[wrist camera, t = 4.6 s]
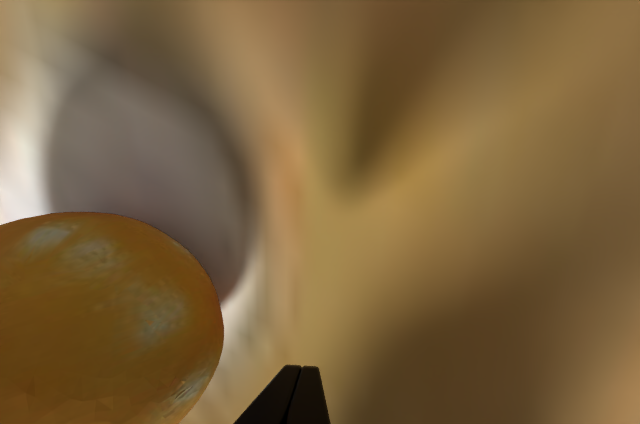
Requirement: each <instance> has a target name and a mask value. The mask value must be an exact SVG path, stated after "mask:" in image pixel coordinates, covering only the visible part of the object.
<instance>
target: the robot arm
mask: <svg viewBox="0 0 640 424" xmlns="http://www.w3.org/2000/svg"><path fill="white" fill-rule="evenodd" d="M234 424H331V423H330V419H329V414H328V409H327V404H326V400H325V395H324V390H323V385H322V381H321V376H320V371H319V368H318V367H316V366H303V367H301V366H300V365H285V366H284V367H283V368H282V369H281V370H280V372H279V373H278V374H277V375H276V376H275V377H274V378H273V379H272V381H271V382H270V383H269V384H268V385H267V386H266V387H265V389H264V390H263V391H262V392H261V393H260V394H259V395H258V396H257V398H256V399H255V400H254V401H253V402H252V403H251V404H250V406H249V407H248V408H247V409H246V410H245V411H244V412H243V413H242V415H241V416H240V417H239V418H238V419H237V420H236V421H235V423H234Z"/></svg>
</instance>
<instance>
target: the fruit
mask: <svg viewBox="0 0 640 424" xmlns="http://www.w3.org/2000/svg"><path fill="white" fill-rule="evenodd" d="M223 340H224V325H223V318H222V312H221V309H220V304H219V300H218V297H217V293H216V290H215V288H214V286H213V284H212V281H211V279H210V278H209V276H208V275H207V273H206V272H205V270H204V269H203V267H202V266H201V265H200V263H199V262H198V261H197V259H196V258H195V257H194V256H193V255H192V254H191V253H190V252H189V251H188V250H187V249H186V248H184V247H183V246H182V245H181V244H179V243H178V242H177V241H175V240H174V239H172V238H171V237H169V236H168V235H166V234H165V233H163V232H162V231H160V230H158V229H156V228H154V227H152V226H150V225H149V224H147V223H144V222H141V221H139V220H136V219H132V218H128V217H124V216H120V215H116V214H109V213H96V212H63V213H51V214H46V215H41V216H35V217H30V218H24V219H20V220H16V221H13V222H9V223H6V224H3V225H0V424H178V423H179V422H180V421H181V420H182V419H183V418H184V417H185V416H186V415H187V413H188V412H189V411H190V410H191V409H192V408H193V406H194V405H195V404H196V402H197V401H198V400H199V399H200V397H201V396H202V394H203V392H204V391H205V389H206V388H207V386H208V384H209V382H210V380H211V379H212V377H213V375H214V372H215V370H216V368H217V366H218V363H219V360H220V356H221V353H222V348H223Z"/></svg>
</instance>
